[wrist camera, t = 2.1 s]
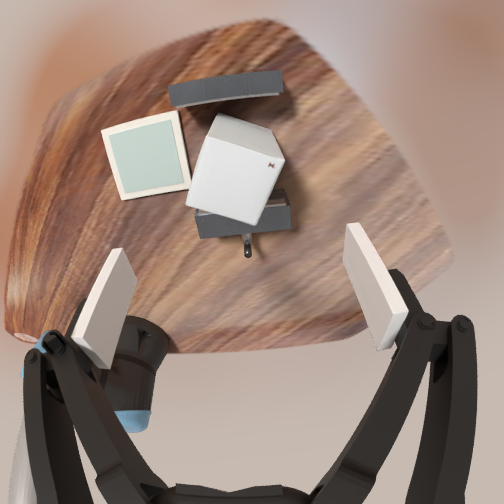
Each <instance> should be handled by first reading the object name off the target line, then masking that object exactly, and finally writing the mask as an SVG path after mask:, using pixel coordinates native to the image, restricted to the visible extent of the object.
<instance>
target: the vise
mask: <svg viewBox="0 0 504 504" xmlns="http://www.w3.org/2000/svg"><path fill="white" fill-rule="evenodd" d="M168 89H169V95H170V101H171V106H172V107H174V106H176V107H177V108H182V107H187V106H192V105H198V104H204V103H210V102H216V101H223V100H231V99H239V98H249V97H259V96H272V95H279V92H284V89H283V78H282V71H261V72H250V73H240V74H231V75H224V76H217V77H210V78H204V79H198V80H193V81H188V82H183V83H178V84H174V85H170V86H168ZM195 220H196V224H197V228H198V232H199V236H200V239H204V238H213V237H222V236H231V235H240V234H241V236H242V243H243V244H244V254H245V257H246V258H250V257H251V256H252V250H251V243H252V236H251V233H259V232H268V231H278V230H288V229H291V212H290V203H289V200H288V197H287V195H286V192H285V189H278V190H272V192H271V194H270V196H269V198H268V200H267V202H266V204H265V207H264V209H263V211H262V213H261V216H260V218H259V220H258V222H257V224H256V225H255V226H253V225H250V224H247V223H244V222H240V221H237V220H234V219H231V218H228V217H225V216H222V215H218V214H215V213H211V212H208V211H204V210H201V209H196V213H195Z"/></svg>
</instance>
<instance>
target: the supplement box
mask: <svg viewBox="0 0 504 504" xmlns="http://www.w3.org/2000/svg"><path fill="white" fill-rule="evenodd" d="M284 163H285V159H284V156H283V154H282V152H281V150H280V148H279V146H278V143H277V141H276V139H275V137H274V135H273V133H272V131H271V130H269V129H267V128H264V127H261V126H258V125H255V124H253V123H250V122H247V121H244V120H241V119H238V118H235V117H232V116H229V115H226V114H222V113H218V114H217V115H216V117H215V119H214V122H213V124H212V126H211V128H210V130H209V132H208V134H207V136H206V138H205V140H204V143H203V146H202V148H201V151H200V154H199V157H198V160H197V163H196V166H195V170H194V173H193V177H192V180H191V184H190V188H189V192H188V196H187V200H186V206H190V207H194V208H197V209H201V210H204V211H208V212H211V213H215V214H218V215H222V216H225V217H228V218H231V219H234V220H237V221H240V222H244V223H247V224H250V225H253V226H255V225H256V224H257V222H258V220H259V218H260V216H261V213H262V211H263V209H264V207H265V204H266V202H267V200H268V198H269V196H270V194H271V192H272V189H273V187H274V185H275V182H276V180H277V178H278V176H279V174H280V171H281V169H282V167H283V165H284Z"/></svg>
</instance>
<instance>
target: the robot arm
mask: <svg viewBox="0 0 504 504" xmlns="http://www.w3.org/2000/svg"><path fill="white" fill-rule="evenodd" d="M342 262H343V264H344V267H345V269H346V271H347V274H348V276H349V279H350V281H351V283H352V286H353V288H354V291H355V293H356V296H357V298H358V301H359V303H360V306H361V308H362V311H363V314H364V316H365V319H366V322H367V324H368V327H369V330H370V333H371V335H372V338H373V341H374V344H375V346H376V349H377V351H380V350H384V349H389V348H391V347H392V345H393V343H394V341H395V343H396V345H397V349H396V351H395V353H394V355H393V357H392V361H391V363H390V365H389V367H388V369H387V372H386V374H385V376H384V378H383V380H382V382H381V384H380V386H379V388H378V390H377V392H376V394H375V396H374V398H373V400H372V402H371V404H370V406H369V408H368V409H367V411H366V413H365V415H364V417H363V418H362V420H361V422H360V423H359V425H358V427H357V429H356V430H355V432H354V433H353V435H352V437H351V438H350V440H349V441H348V443H347V445H346V446H345V448H344V449H343V451H342V452H341V454H340V455H339V457H338V458H337V460H336V461H335V463H334V464H333V466H332V467H331V468H330V470H329V471H328V472H327V473H326V474H325V476H324V477H323V478H322V479H321V481H320V482H319V483H318V485H317V486H316V487H315V489H314V490H313V491H312V492H311V494H310V495H308V494H306V493H305V492H302V491H300V490H297V489H294V488H290V487H284V486H282V485H270V486H255V487H250V488H246V489H242V490H238V491H234V492H225V491H221V490H217V489H213V488H208V487H204V486H199V485H186V484H177V483H176V486H174V487H170V488H168V486H167V485H166V484H165V483H164V482H163V481H162V480H161V479H160V478H159V477H158V476H157V475H156V474H154V473H153V471H152V470H151V469H150V468H149V466H148V465H147V463H146V462H145V460H144V459H143V457H142V456H141V455H140V453H139V452H138V450H137V449H136V447H135V445H134V444H133V442H132V441H131V439H130V438H129V436H128V434H127V432H129V433H134V432H135V433H136V432H142V431H144V430H145V429H146V428H147V426H148V422H149V417H150V414H151V404H152V397H153V389H154V383H155V376H156V371H157V369H158V368H159V366H160V364H161V363H162V361H163V359H164V357H165V356H166V354H167V352H168V346H169V339H168V337H167V335H166V334H165V333H164V331H163V330H161V329H160V328H159V327H158V326H156V325H155V324H153V323H151V322H149V321H147V320H144V319H141V318H138V317H133V316H126V314H127V311H128V308H129V305H130V302H131V299H132V296H133V294H134V291H135V288H136V285H137V282H138V280H137V278H136V276H135V274H134V272H133V270H132V268H131V265H130V263H129V261H128V259H127V256H126V254H125V252H124V249H123V248H117V249H112V251H111V253H110V255H109V256H108V258H107V260H106V262H105V264H104V266H103V268H102V270H101V272H100V274H99V276H98V278H97V280H96V282H95V284H94V286H93V288H92V290H91V292H90V294H89V296H88V298H84V299H83V300H82V302H81V303H80V304H79V305H78V307H77V309H76V312H75V314H74V316H73V320H72V321H71V323H70V325H69V327H68V330H67V332H66V335H65V337H63V335H62V334H61V333H60V332H59V331H58V330H48V331H45V332H44V333H43V334H42V336H41V337H40V339H39V340H38V342H37V343H36V345H35V346H34V348H33V349H31V350H29V351H28V353H27V354H26V356H25V360H24V366H23V368H22V370H21V373H20V374H21V376H22V378H23V379H24V380H23V381H24V382H23V394H24V395H23V396H24V398H23V399H24V415H23V418H22V422H21V426H20V430H19V434H18V438H17V443H16V448H15V453H14V459H13V464H12V470H11V477H10V485H9V496H8V504H94V503H93V500H92V496H91V493H90V490H89V487H88V483H87V480H86V477H85V473H84V470H83V466H82V462H81V459H80V455H79V450H78V446H77V441H76V437H75V432H74V427H75V429H76V432H77V434H78V436H79V439H80V441H81V443H82V445H83V447H84V449H85V451H86V453H87V455H88V457H89V459H90V461H91V463H92V465H93V467H94V469H95V471H96V473H97V477H96V479H95V482H96V484H97V487H98V489H99V490H100V492H101V494H102V495H103V497H104V499H105V500H106V502H107V503H108V504H362V503H363V501H364V500H365V499H366V497H367V496H368V494H369V493H370V491H371V489H372V487H373V486H374V484H375V481H376V475H377V473H378V471H379V470H380V468H381V466H382V465H383V463H384V461H385V459H386V457H387V456H388V454H389V452H390V450H391V448H392V446H393V444H394V442H395V440H396V438H397V436H398V434H399V432H400V430H401V428H402V426H403V424H404V421H405V419H406V417H407V415H408V413H409V410H410V408H411V406H412V403H413V400H414V398H415V396H416V393H417V391H418V388H419V385H420V383H421V380H422V377H423V374H424V372H425V369H426V366H427V363H428V362H431V363H430V378H429V389H428V397H427V406H426V413H425V419H424V425H423V431H422V436H421V441H420V446H419V451H418V455H417V459H416V464H415V467H414V471H413V475H412V478H411V482H410V485H409V489H408V493H407V497H406V502H405V504H465V495H464V493H465V489H466V484H467V480H468V475H469V470H470V465H471V459H472V453H473V446H474V436H475V428H476V414H477V356H476V342H475V332H474V326H473V323H472V322H471V320H470V319H469V318H467V317H466V316H463V315H457V316H455V317H454V318H453V320H452V321H451V322H445V321H436V319H435V318H434V317H433V316H432V315H430V314H429V313H425V312H424V311H423V309H422V307H421V305H420V303H419V301H418V300H417V298H416V296H415V294H414V292H413V291H412V290H411V287H410V285H409V284H408V282H407V280H406V278H405V277H404V275H403V274H402V273H401V272H399V271H398V270H397V269H391V270H387V269H386V267H385V265H384V263H383V262H382V260H381V258H380V257H379V255H378V253H377V251H376V250H375V248H374V246H373V245H372V243H371V241H370V240H369V238H368V236H367V235H366V233H365V232H364V230H363V228H362V227H361V225H360V224H359V223H349V224H347V225H346V234H345V243H344V251H343V259H342ZM73 425H74V427H73ZM282 493H283V494H282Z"/></svg>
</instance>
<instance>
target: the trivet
mask: <svg viewBox="0 0 504 504" xmlns="http://www.w3.org/2000/svg"><path fill="white" fill-rule="evenodd" d="M101 132H102V136H103V140H104V144H105V147H106V151H107V155H108V158H109V162H110V165H111V168H112V172H113V175H114V178H115V181H116V185H117V188H118V191H119V194H120V197H121V200H127V199H132V198H137V197H143V196H148V195H154V194H159V193H165V192H171V191H177V190H184V189H189V188H190V184H191V180H192V178H191V174H190V169H189V164H188V159H187V154H186V149H185V144H184V139H183V134H182V128H181V123H180V118H179V112H178V110H175V111H170V112H166V113H161V114H157V115H153V116H149V117H145V118H141V119H137V120H133V121H130V122H126V123H122V124H119V125H116V126H112V127H109V128H106V129H103V130H101Z"/></svg>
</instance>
